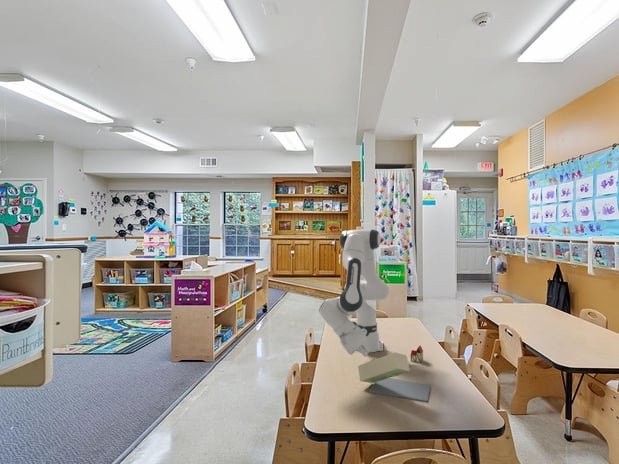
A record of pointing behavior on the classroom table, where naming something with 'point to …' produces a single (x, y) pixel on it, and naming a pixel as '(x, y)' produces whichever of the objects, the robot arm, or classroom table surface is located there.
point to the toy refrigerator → (383, 368)
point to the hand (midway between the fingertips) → (366, 354)
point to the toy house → (417, 355)
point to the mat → (402, 389)
